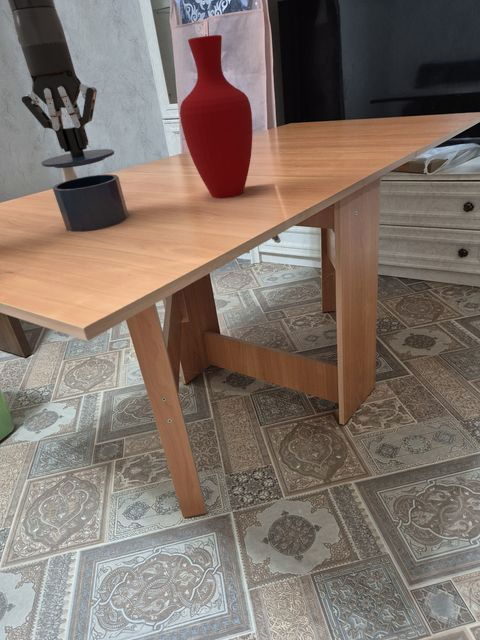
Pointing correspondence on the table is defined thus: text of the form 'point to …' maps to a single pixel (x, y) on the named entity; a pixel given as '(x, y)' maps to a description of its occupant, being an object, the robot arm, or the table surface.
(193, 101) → the vase
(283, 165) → the table surface
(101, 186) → the pot
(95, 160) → the lid
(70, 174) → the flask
